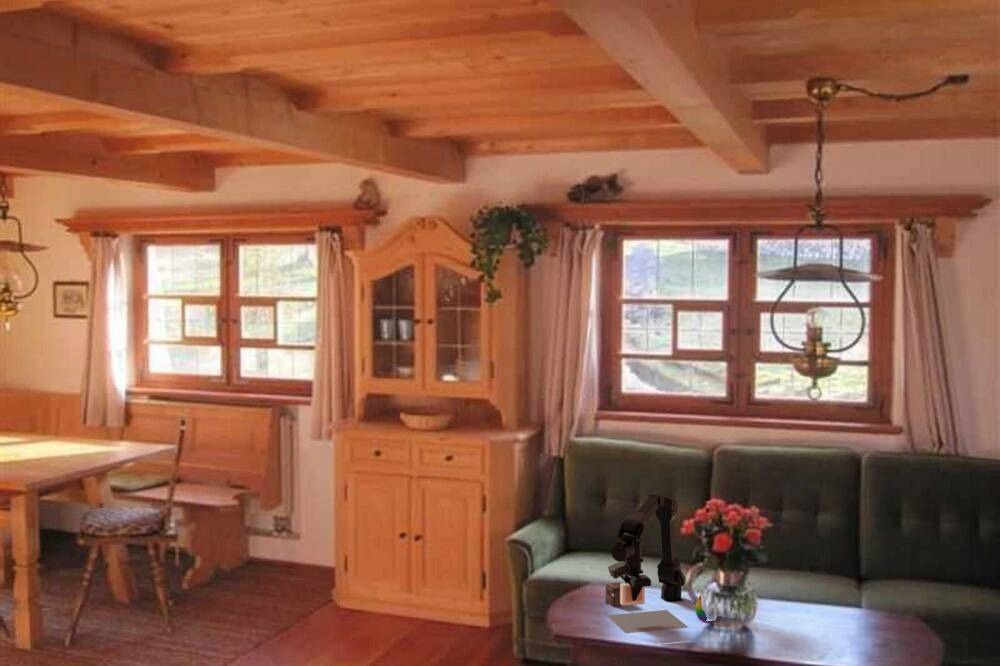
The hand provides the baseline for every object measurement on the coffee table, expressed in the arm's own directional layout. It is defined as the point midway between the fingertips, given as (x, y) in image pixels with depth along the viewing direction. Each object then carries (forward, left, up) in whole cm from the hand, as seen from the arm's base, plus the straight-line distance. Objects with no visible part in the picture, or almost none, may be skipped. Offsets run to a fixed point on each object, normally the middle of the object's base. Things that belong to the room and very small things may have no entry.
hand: (632, 599), depth 333 cm
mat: (-5, 0, -9) cm, 10 cm away
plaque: (0, 0, -2) cm, 2 cm away
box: (-2, -20, -9) cm, 22 cm away
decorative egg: (-27, +3, -9) cm, 28 cm away
